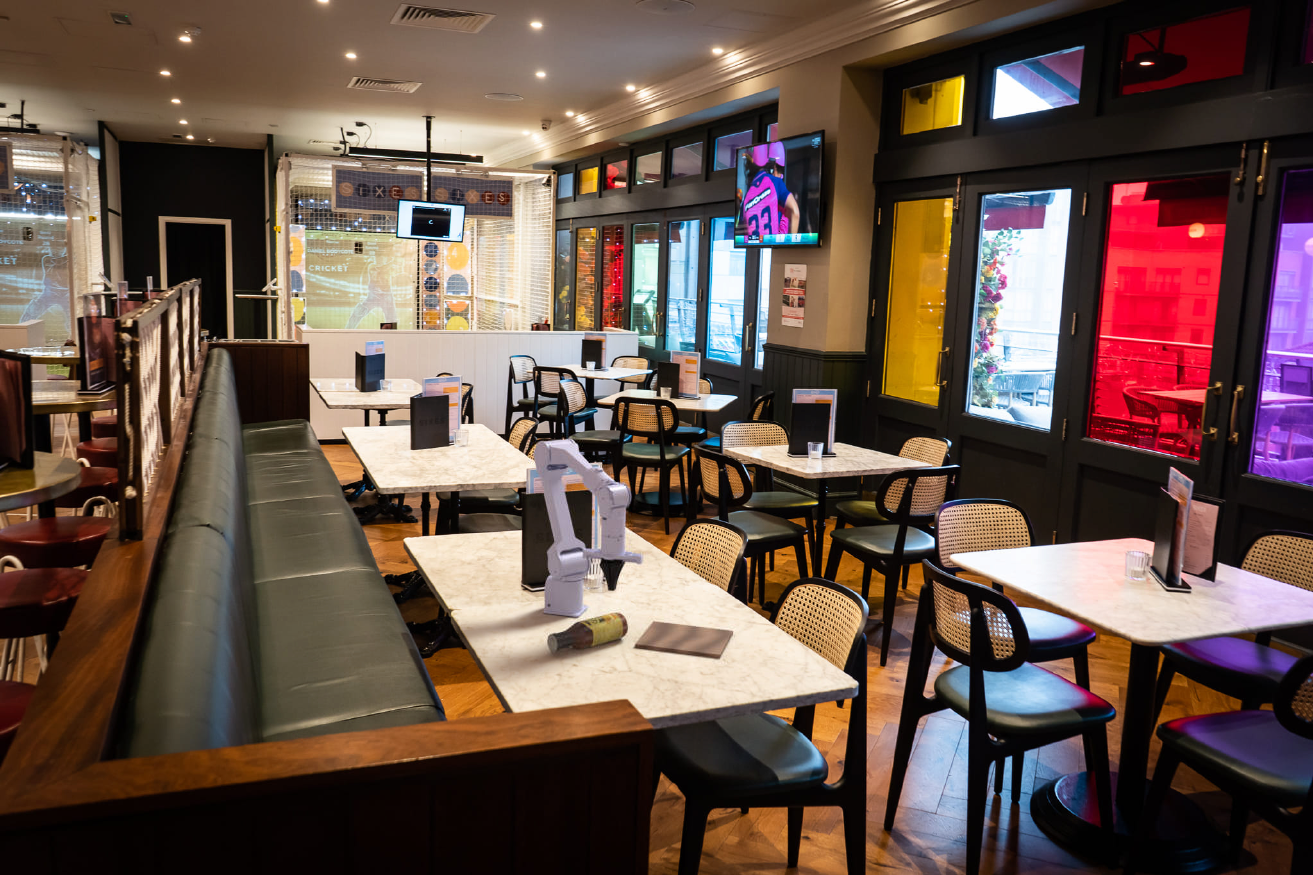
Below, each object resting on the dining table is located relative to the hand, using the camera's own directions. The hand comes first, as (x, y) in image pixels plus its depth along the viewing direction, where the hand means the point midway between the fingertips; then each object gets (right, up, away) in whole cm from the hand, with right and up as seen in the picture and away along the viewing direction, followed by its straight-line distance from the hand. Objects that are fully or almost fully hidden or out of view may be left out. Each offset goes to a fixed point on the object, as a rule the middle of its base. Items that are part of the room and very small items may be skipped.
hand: (612, 589), depth 224 cm
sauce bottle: (+2, -8, -2) cm, 8 cm away
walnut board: (+17, -12, -3) cm, 21 cm away
